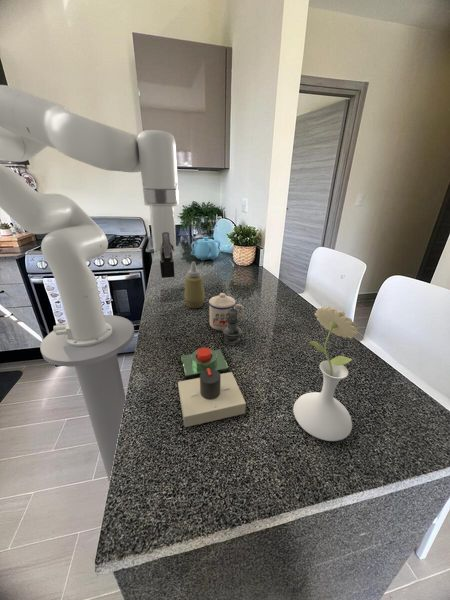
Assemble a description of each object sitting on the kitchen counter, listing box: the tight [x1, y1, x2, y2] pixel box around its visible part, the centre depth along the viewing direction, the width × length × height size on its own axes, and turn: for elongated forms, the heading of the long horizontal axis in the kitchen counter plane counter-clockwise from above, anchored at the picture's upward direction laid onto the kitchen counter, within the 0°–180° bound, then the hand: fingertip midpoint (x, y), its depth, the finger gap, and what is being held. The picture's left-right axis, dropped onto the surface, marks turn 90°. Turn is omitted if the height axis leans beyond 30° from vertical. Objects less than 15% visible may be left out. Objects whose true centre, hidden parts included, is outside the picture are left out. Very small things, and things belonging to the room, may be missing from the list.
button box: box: [180, 348, 230, 381], centre depth 66 cm, size 11×8×4 cm
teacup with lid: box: [208, 292, 245, 332], centre depth 85 cm, size 12×9×12 cm
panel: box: [177, 371, 247, 428], centre depth 56 cm, size 13×10×3 cm
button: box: [197, 347, 212, 361], centre depth 65 cm, size 4×4×2 cm
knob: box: [200, 368, 221, 400], centre depth 54 cm, size 4×4×5 cm
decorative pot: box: [190, 236, 222, 261], centre depth 160 cm, size 16×16×14 cm
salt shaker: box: [222, 306, 243, 346], centre depth 76 cm, size 6×6×12 cm
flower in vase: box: [293, 305, 359, 442], centre depth 48 cm, size 13×11×25 cm
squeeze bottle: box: [183, 261, 206, 309], centre depth 96 cm, size 8×8×18 cm
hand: (167, 276), depth 63 cm, fingers closed
